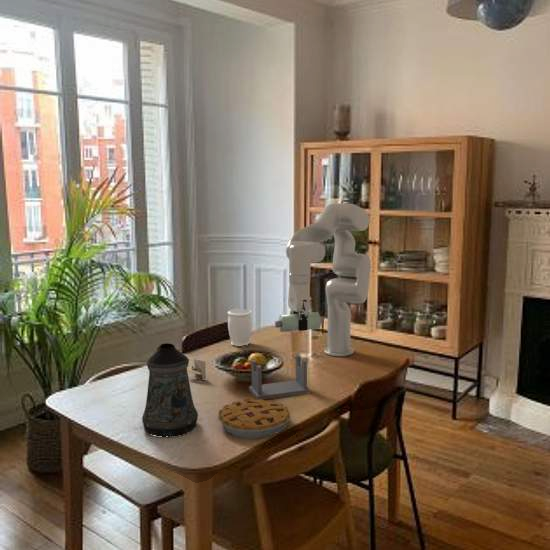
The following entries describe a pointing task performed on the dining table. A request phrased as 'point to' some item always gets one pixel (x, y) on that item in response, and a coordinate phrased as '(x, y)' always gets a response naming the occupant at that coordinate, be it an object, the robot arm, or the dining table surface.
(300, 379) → the roll holder
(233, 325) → the jar
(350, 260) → the robot arm
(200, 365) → the architectural model
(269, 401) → the pie
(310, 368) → the dining table surface
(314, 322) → the roll
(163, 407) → the beer stein
